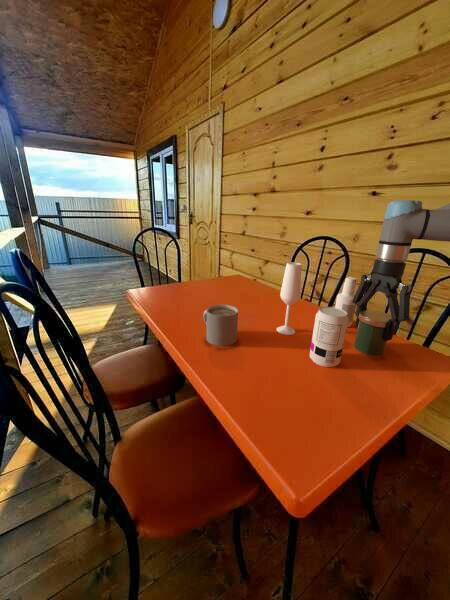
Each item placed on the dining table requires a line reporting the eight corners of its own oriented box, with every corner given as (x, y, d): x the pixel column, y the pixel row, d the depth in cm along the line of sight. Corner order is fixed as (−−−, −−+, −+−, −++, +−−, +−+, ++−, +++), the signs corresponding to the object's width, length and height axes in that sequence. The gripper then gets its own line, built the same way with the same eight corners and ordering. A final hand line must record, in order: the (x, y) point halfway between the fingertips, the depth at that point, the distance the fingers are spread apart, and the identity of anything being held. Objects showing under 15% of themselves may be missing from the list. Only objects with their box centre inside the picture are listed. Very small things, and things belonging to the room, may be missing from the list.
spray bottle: (347, 329, 93) (358, 281, 87) (329, 323, 97) (337, 277, 91) (354, 324, 97) (364, 278, 91) (336, 318, 102) (344, 275, 96)
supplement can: (303, 355, 75) (310, 307, 70) (326, 350, 78) (334, 305, 73) (321, 370, 68) (331, 319, 63) (346, 365, 70) (357, 315, 65)
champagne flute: (274, 326, 93) (281, 261, 85) (292, 326, 94) (300, 261, 86) (279, 334, 87) (287, 265, 79) (298, 334, 87) (308, 265, 79)
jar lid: (351, 317, 79) (353, 311, 78) (372, 313, 82) (373, 308, 82) (378, 329, 71) (380, 323, 70) (399, 325, 75) (401, 319, 74)
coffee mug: (242, 341, 82) (244, 312, 78) (216, 349, 76) (217, 318, 73) (220, 325, 92) (221, 299, 89) (196, 331, 87) (195, 304, 84)
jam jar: (381, 345, 82) (389, 315, 79) (386, 358, 75) (395, 325, 71) (352, 339, 85) (359, 310, 81) (354, 352, 78) (362, 320, 74)
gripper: (442, 267, 63) (417, 347, 70) (365, 253, 81) (351, 317, 89) (424, 269, 60) (399, 352, 67) (348, 254, 78) (335, 321, 86)
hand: (372, 332), depth 78 cm, fingers closed on jar lid, 9 cm apart
